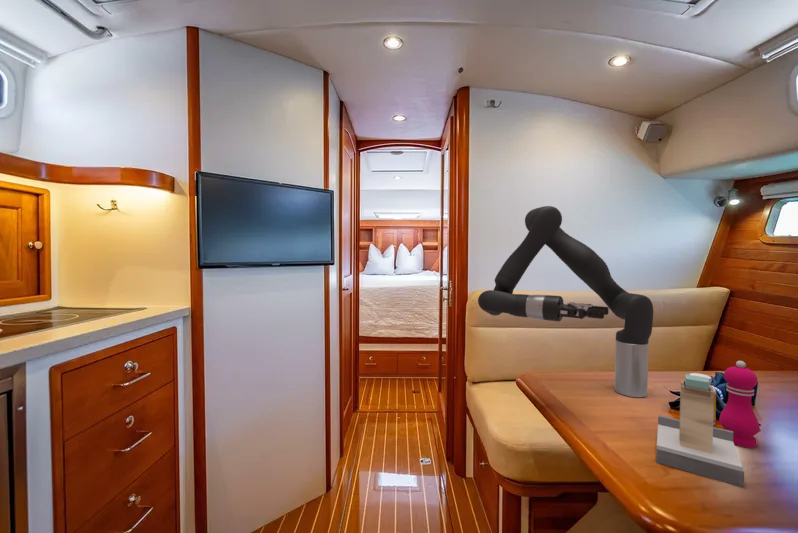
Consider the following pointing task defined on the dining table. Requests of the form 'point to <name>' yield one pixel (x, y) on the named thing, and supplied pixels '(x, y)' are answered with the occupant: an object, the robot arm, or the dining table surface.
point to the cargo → (696, 382)
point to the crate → (696, 418)
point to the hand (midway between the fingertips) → (606, 312)
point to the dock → (699, 453)
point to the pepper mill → (740, 405)
